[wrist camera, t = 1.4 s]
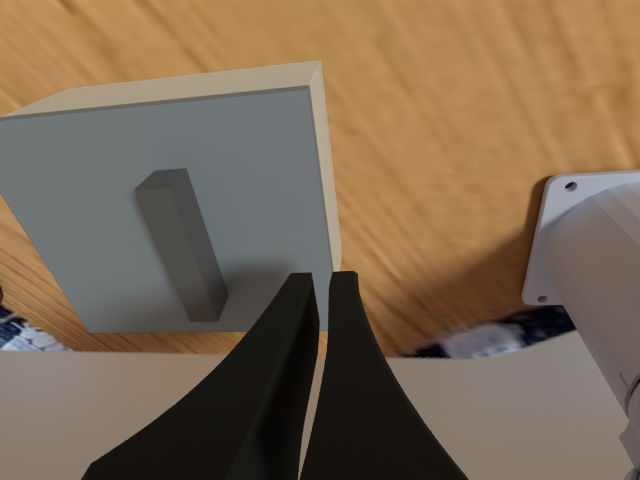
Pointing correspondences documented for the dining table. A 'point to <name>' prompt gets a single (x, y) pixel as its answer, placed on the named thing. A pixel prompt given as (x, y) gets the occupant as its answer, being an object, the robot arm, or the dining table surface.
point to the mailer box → (212, 86)
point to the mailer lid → (173, 207)
